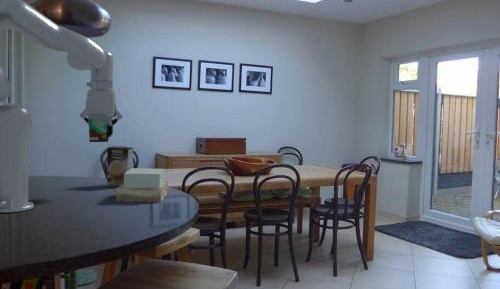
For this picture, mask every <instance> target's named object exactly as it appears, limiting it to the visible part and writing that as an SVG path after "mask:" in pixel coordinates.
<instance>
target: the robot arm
mask: <svg viewBox="0 0 500 289" xmlns="http://www.w3.org/2000/svg"><path fill="white" fill-rule="evenodd" d="M7 30H15V31H17V32H18V33H20V34H22V35H23V36H24V37H26V38H28V39H29V40H31V41H32V42H34V43H36V44H38V45H39V46H40V47H42V48H44V49H47V50H51V51H56V52H57V51H58V52H63V53H67V55H66V62H67V64H68V65H69V66H70V67H71V68H72V69H73V70H77V71H90V80H89V82H86V87H89V88H90V89H88V90H87V93H86V99H85V108H84V109H83V111H82V112H81V113H80V114H79V117H80V118H81V119H83V120H84V121H85V123H87V125H88V126H89V120H88V115H89V114H106V116H107V118H110V120H108V123H109V125H108V127H107V137H109V138H111V137H112V135H113V133H114V125H115V124H117V123H118V121H120V120H122V118H123V115H122V114H121V112H120V111H119V110H118V109H117V100H116V93H115V90H113V88H114V86H113V84H114V82H113V80H114V79H113V77H114V55H113V53H112V52H110V51H105V50H103V48H101V47H100V46H99V45H98V44H97V43H95V42H94V41H92V40H91V39H89V38H88V37H87V36H84V35H82V34H81V33H78V32H77V31H74V30H71V29H69V28H66V27H64V26H61V25H58V24H57V23H56V22H54V21H53V20H51V19H50V18H48V17H47V16H46V15H44V14H43V13H41V12H40V11H39V10H37V9H36V8H34V7H33V6H31V5H30V4H29V3H27V2H25V1H24V0H0V32H4V31H7ZM11 92H12V86H11V84H10V81H9V79H8V78H7V74H6V73H5V71H4V69H3V67H2V66H1V64H0V213H2V214H3V213H4V214H5V213H17V212H18V213H20V212H25V211H29V210H31V209H33V208H35V204H34V202H31V201H29V144H30V136H31V132H32V125H33V118H32V115H31V113H30V110H28V108H26V107H25V106H23V105H21V104H18V103H11V102H2V101H5V100H6V99H8V98H9V97H10V95H11ZM111 119H112V120H111Z"/></svg>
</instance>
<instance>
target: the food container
mask: <svg viewBox="0 0 500 289" xmlns="http://www.w3.org/2000/svg"><path fill="white" fill-rule="evenodd" d="M87 118H88V120H89V125H88V133H89V134H88V139H89V140H88V141H89V143H108V142H109V138H110V137H107V127H108V125H109V123H108V120H110V118H107V116H106V114H89V115H88V116H87ZM112 119H113V118H112ZM112 119H111V120H112Z"/></svg>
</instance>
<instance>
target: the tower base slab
mask: <svg viewBox="0 0 500 289" xmlns="http://www.w3.org/2000/svg"><path fill="white" fill-rule="evenodd" d="M168 189H169V182H168V181H164V182H163V184H162V185H161V187H160V189H153V188H124V184H122V185H121V186H119V187H116V189H115V191H116V192H115V193H116V195H115V201H116V202H132V201H138V203H139V202H140V203H141V202H142V203H161V202H162V201H163V200H164V199H165V198H166V196H168V191H169V190H168Z"/></svg>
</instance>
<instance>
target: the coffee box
mask: <svg viewBox="0 0 500 289" xmlns="http://www.w3.org/2000/svg"><path fill="white" fill-rule="evenodd" d="M106 155H107V156H106V158H107V159H106V161H107V163H106V187H115V186H121V185H122V184H124V173H126V172H127V171H128V170H130V169H131V168H134V166H133V165H134V164H133V163H134V147H127V146H109V147H108V146H107V154H106Z"/></svg>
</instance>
